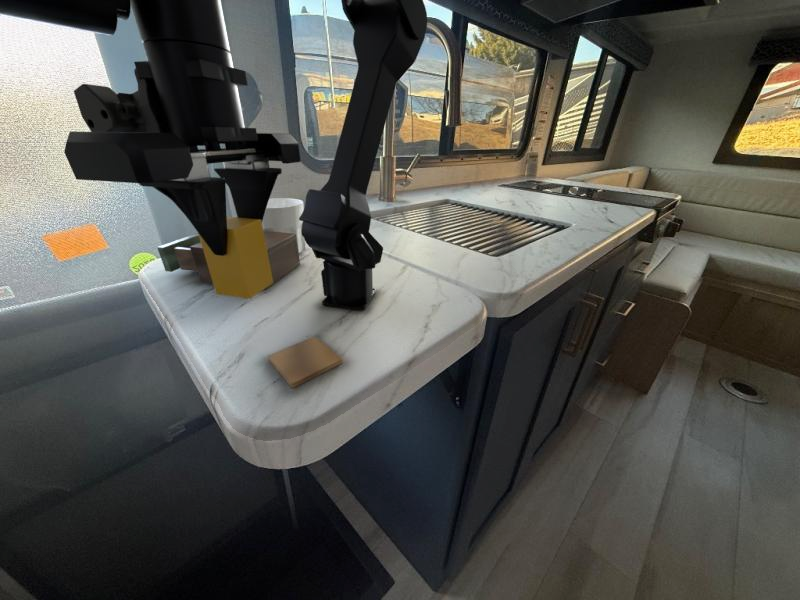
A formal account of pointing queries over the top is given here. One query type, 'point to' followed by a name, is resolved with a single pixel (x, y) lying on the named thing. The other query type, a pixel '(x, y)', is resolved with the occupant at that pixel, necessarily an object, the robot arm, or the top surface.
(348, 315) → the top surface
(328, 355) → the coaster
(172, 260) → the drawer
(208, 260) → the block
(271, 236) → the cabinet
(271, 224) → the cup
